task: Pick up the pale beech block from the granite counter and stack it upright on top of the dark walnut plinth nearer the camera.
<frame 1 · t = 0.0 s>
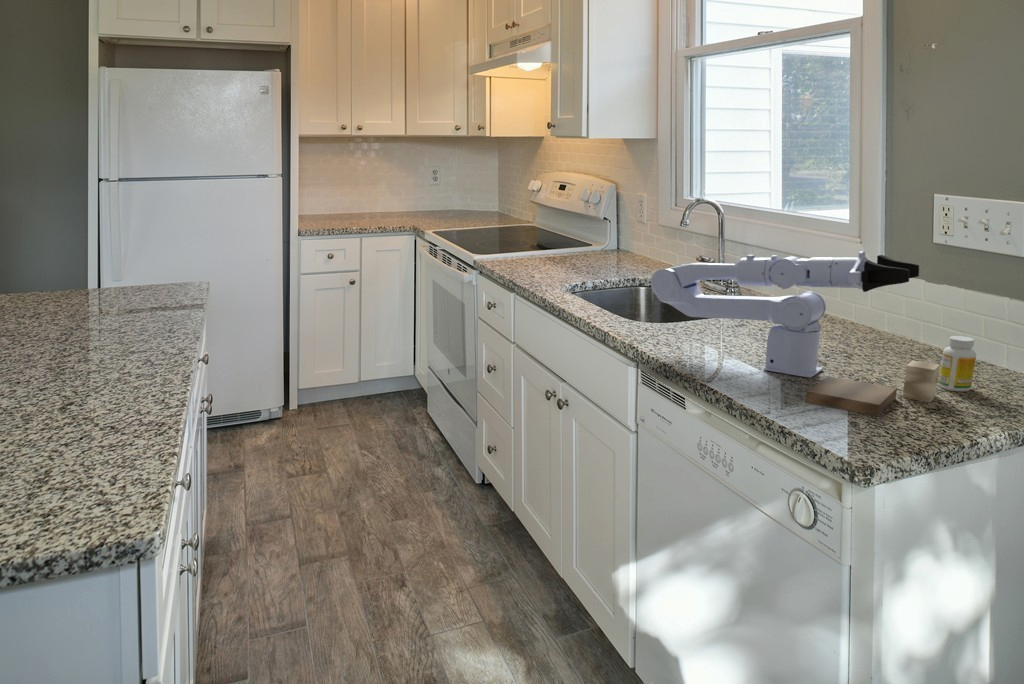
hand: (913, 273, 140), 22 cm above the worktop, tool horizontal, fingers open, 7 cm apart
beech block: (919, 397, 141), on the worktop
walnut plinth: (850, 400, 138), on the worktop
supplement bottle: (954, 388, 146), on the worktop
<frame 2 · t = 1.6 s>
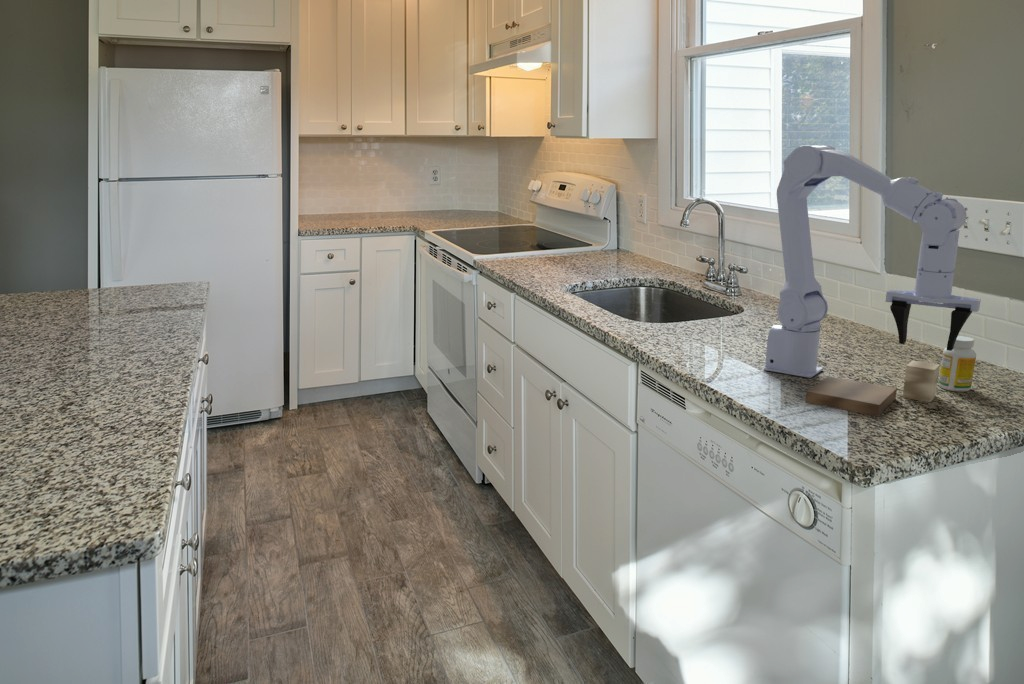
hand: (925, 346, 138), 9 cm above the worktop, tool pointing down, fingers open, 7 cm apart
nothing on the worktop moved.
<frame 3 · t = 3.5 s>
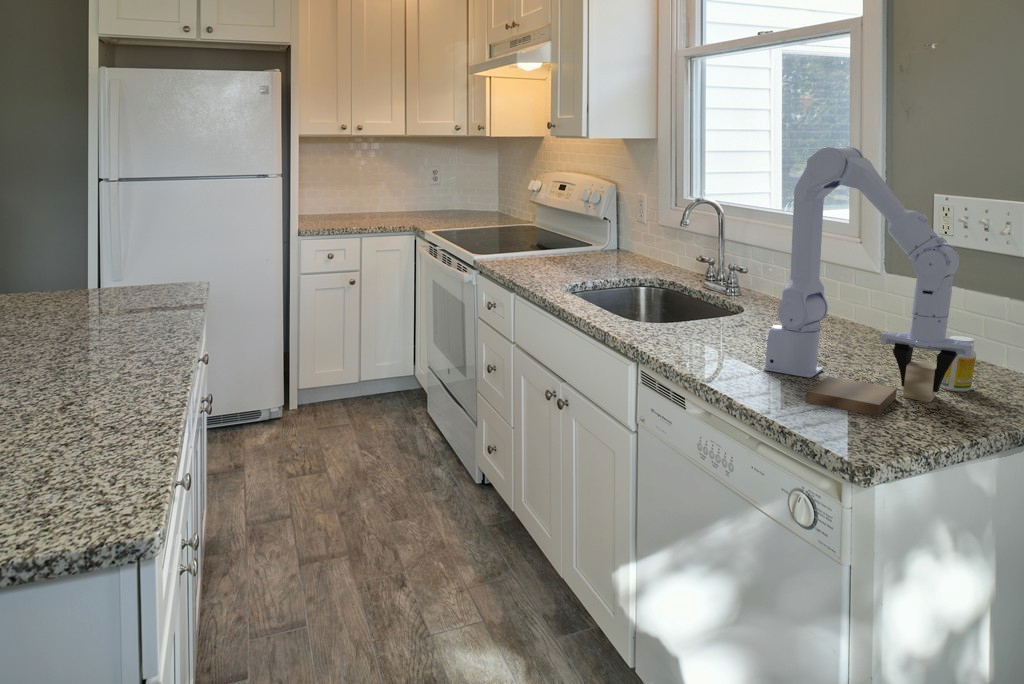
hand: (920, 388, 140), 2 cm above the worktop, tool pointing down, fingers closed on beech block, 4 cm apart
beech block: (919, 396, 141), on the worktop, touching gripper
everything else where it was.
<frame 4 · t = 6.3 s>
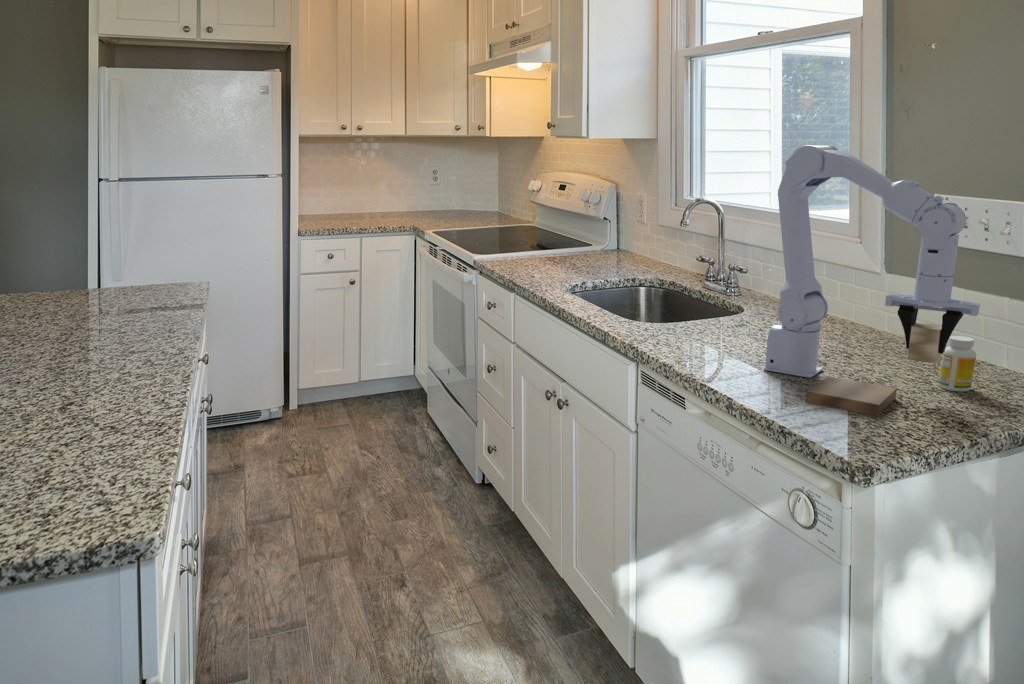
hand: (925, 350, 138), 9 cm above the worktop, tool pointing down, fingers closed on beech block, 4 cm apart
beech block: (923, 358, 139), point 7 cm above the worktop, touching gripper
everything else where it was.
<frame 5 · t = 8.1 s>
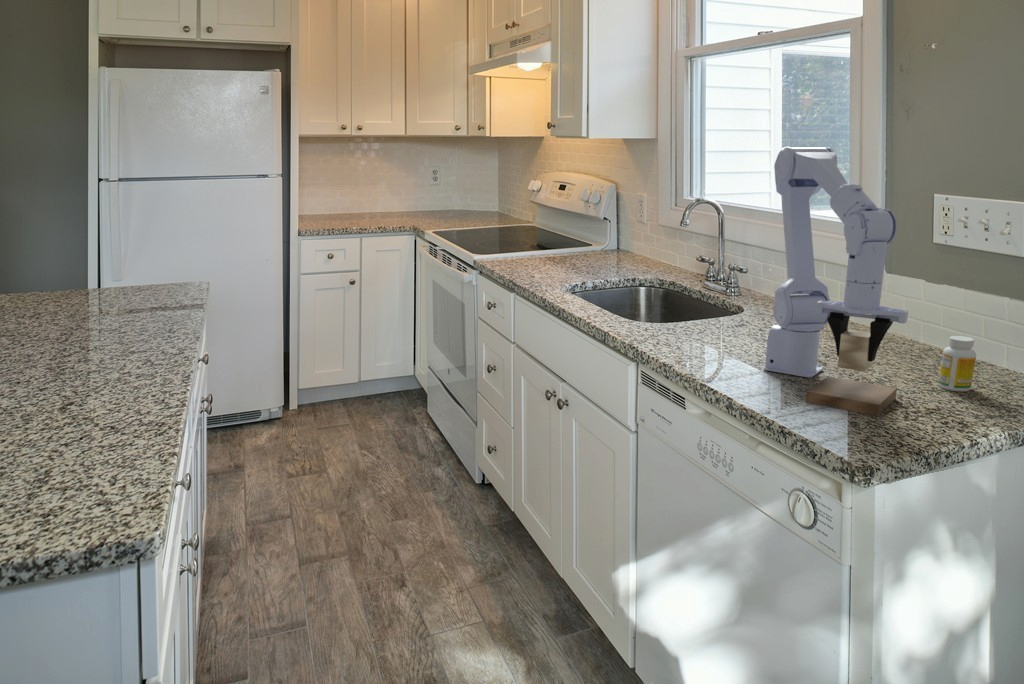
hand: (855, 357, 136), 8 cm above the worktop, tool pointing down, fingers closed on beech block, 4 cm apart
beech block: (854, 366, 137), point 6 cm above the worktop, touching gripper
everything else where it was.
when the fingers open (5 cm above the worktop, at t = 9.6 s): beech block stays where it is, resting on walnut plinth.
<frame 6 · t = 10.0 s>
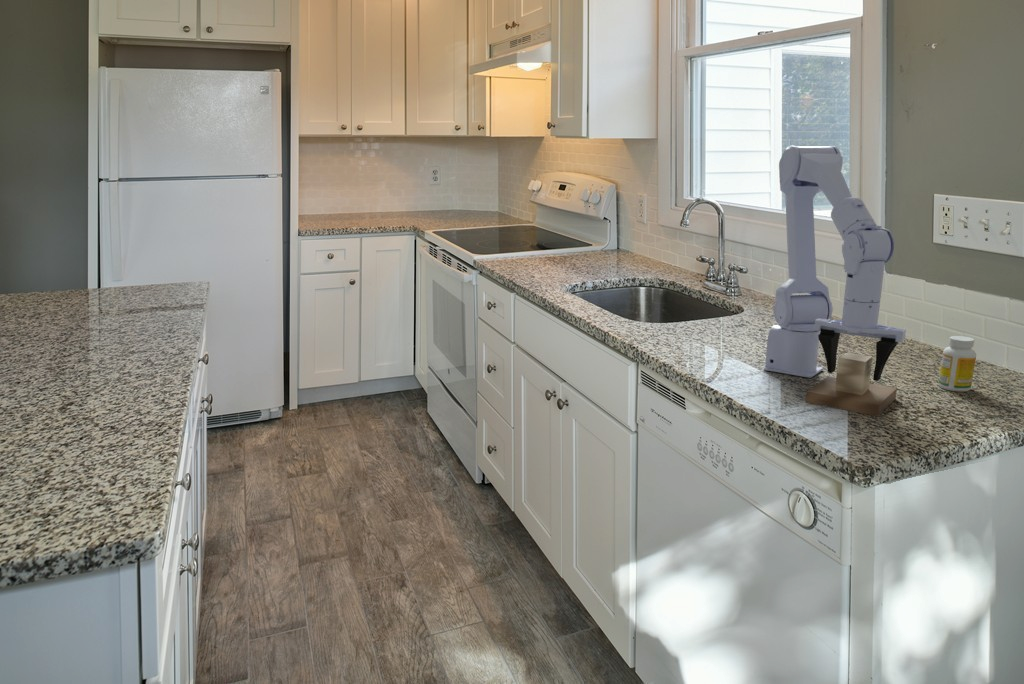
hand: (853, 375, 137), 5 cm above the worktop, tool pointing down, fingers open, 7 cm apart
beech block: (851, 389, 138), point 2 cm above the worktop, touching walnut plinth
everything else where it was.
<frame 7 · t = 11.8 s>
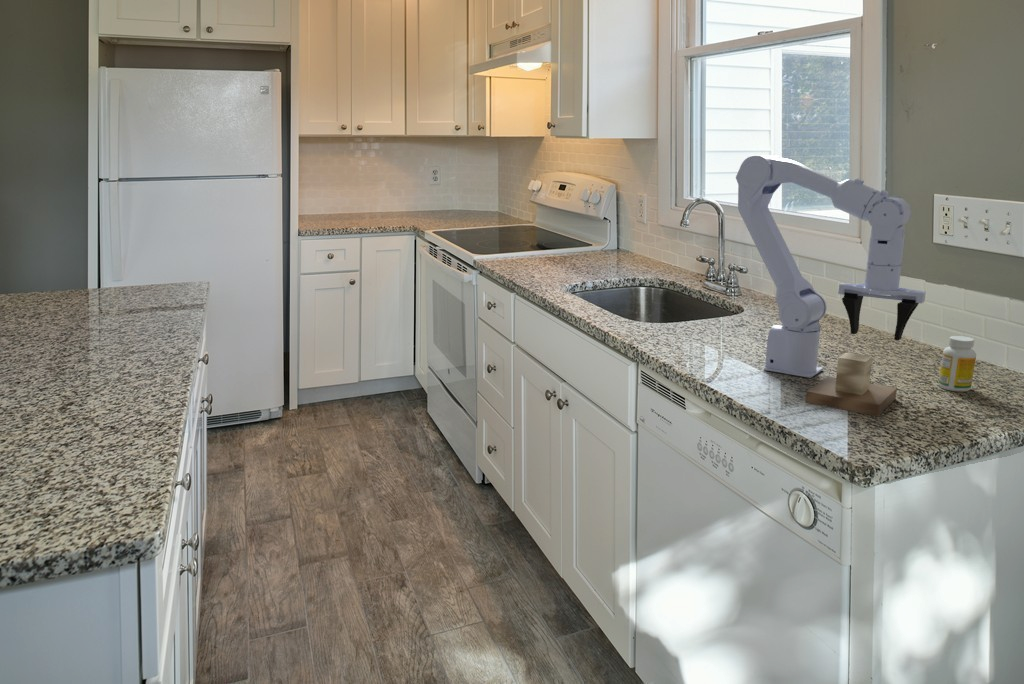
hand: (875, 336, 146), 9 cm above the worktop, tool pointing down, fingers open, 7 cm apart
nothing on the worktop moved.
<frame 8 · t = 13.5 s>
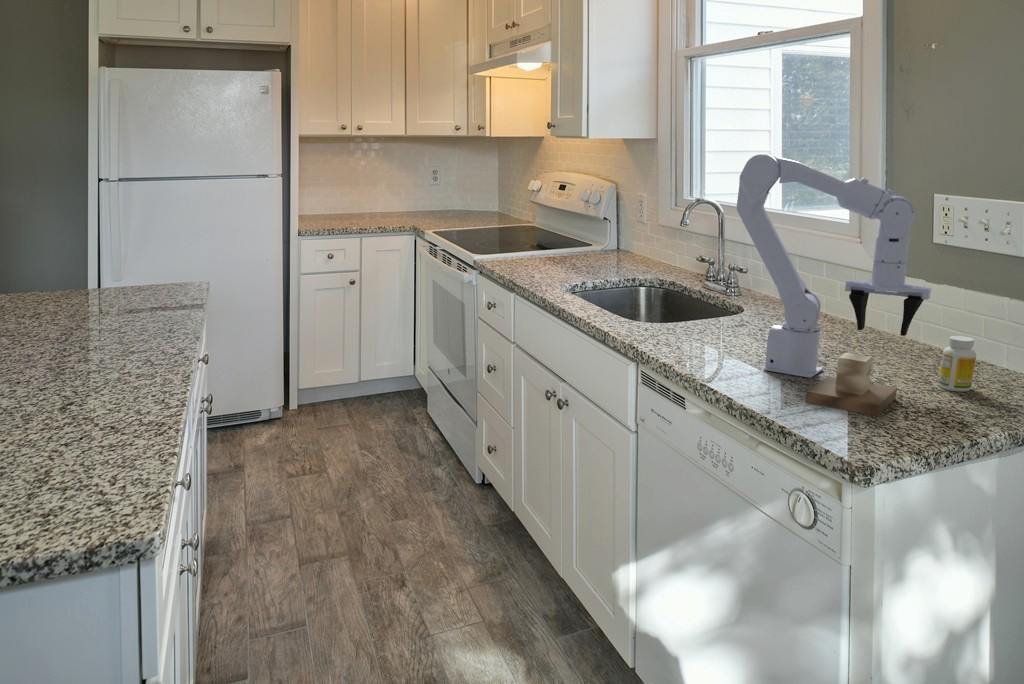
hand: (881, 331, 149), 9 cm above the worktop, tool pointing down, fingers open, 7 cm apart
nothing on the worktop moved.
at the end: beech block inside the target area on the walnut plinth (0.0 cm from its centre), point 2.0 cm above the walnut plinth's base; beech block tilted 0°; the gripper is holding nothing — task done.
